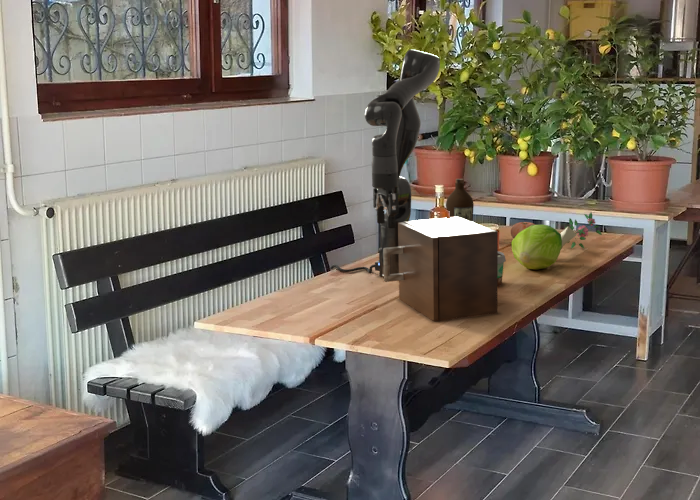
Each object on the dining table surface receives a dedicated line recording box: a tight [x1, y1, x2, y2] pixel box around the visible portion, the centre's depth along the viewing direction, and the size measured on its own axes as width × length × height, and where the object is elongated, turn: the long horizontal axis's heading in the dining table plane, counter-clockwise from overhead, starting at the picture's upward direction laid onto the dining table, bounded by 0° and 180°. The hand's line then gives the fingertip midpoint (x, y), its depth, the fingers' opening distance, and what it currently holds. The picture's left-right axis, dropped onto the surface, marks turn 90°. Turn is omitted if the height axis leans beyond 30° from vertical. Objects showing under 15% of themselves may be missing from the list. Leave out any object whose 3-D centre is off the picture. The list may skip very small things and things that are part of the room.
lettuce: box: [511, 223, 563, 271], centre depth 317 cm, size 17×20×15 cm
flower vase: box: [559, 211, 603, 250], centre depth 342 cm, size 12×12×35 cm
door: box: [383, 222, 440, 322], centre depth 269 cm, size 7×26×24 cm, turn 19°
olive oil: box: [445, 178, 475, 222], centre depth 361 cm, size 11×11×25 cm
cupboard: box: [403, 217, 499, 322], centre depth 273 cm, size 18×26×24 cm
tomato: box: [510, 221, 536, 240], centre depth 362 cm, size 11×11×8 cm
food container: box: [497, 250, 507, 288], centre depth 298 cm, size 12×6×10 cm, turn 168°
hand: (386, 225), depth 275 cm, fingers open, 8 cm apart
